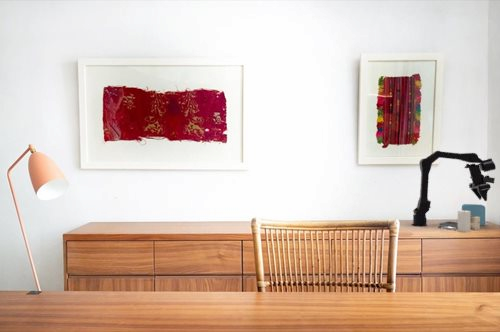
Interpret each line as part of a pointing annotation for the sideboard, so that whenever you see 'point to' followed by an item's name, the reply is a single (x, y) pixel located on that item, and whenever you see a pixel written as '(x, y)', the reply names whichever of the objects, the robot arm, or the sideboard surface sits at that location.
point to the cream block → (464, 221)
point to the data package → (476, 211)
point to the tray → (449, 224)
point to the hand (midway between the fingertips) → (483, 200)
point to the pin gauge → (447, 227)
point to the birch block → (474, 223)
